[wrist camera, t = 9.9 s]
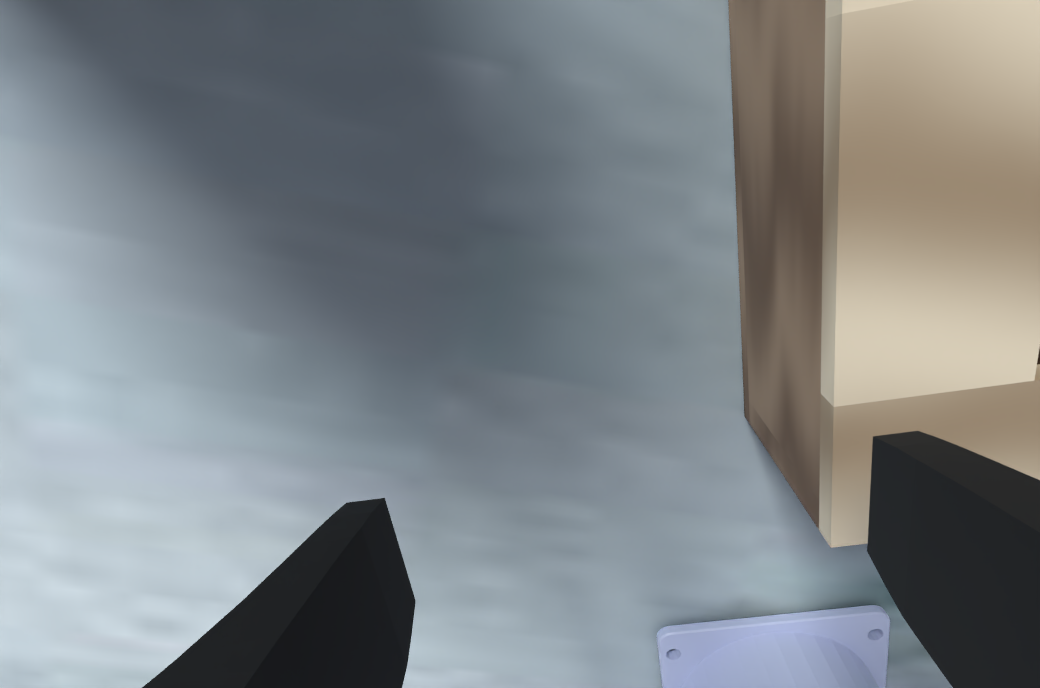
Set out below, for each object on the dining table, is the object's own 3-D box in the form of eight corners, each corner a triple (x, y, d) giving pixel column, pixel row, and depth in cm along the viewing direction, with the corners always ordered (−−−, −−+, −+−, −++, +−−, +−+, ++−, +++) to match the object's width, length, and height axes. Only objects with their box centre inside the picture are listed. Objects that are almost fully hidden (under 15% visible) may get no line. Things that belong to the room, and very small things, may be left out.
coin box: (1124, 366, 18) (1389, 485, 12) (744, 416, 19) (830, 547, 13) (1251, -232, 13) (1797, -490, 7) (723, -122, 14) (848, -274, 8)
